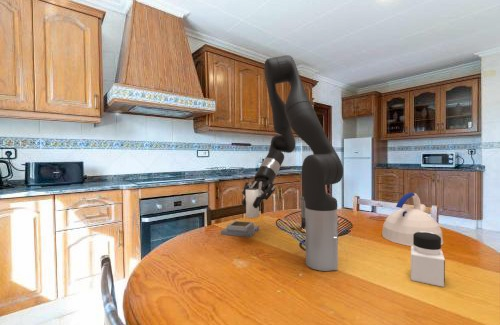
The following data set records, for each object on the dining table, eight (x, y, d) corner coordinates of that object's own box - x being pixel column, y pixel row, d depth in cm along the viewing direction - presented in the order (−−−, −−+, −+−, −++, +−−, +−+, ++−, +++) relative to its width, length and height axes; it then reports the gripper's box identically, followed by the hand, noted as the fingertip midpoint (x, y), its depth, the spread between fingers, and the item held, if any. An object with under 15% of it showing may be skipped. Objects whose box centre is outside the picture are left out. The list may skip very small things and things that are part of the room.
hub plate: (259, 229, 116) (259, 221, 116) (250, 237, 105) (249, 228, 105) (232, 226, 121) (232, 219, 121) (221, 234, 109) (221, 226, 109)
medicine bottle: (444, 287, 64) (445, 239, 63) (410, 280, 68) (410, 235, 67) (442, 276, 70) (442, 232, 69) (410, 270, 74) (411, 228, 73)
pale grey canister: (260, 215, 98) (260, 187, 98) (256, 218, 94) (255, 189, 94) (248, 214, 100) (248, 187, 100) (244, 217, 95) (243, 189, 95)
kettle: (452, 240, 99) (453, 193, 98) (429, 252, 87) (429, 198, 86) (397, 228, 115) (397, 187, 115) (371, 237, 104) (371, 192, 103)
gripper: (249, 165, 107) (229, 198, 98) (278, 165, 98) (259, 201, 89) (258, 177, 111) (239, 210, 102) (286, 178, 102) (269, 214, 93)
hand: (249, 206), depth 95 cm, fingers closed on pale grey canister, 4 cm apart
